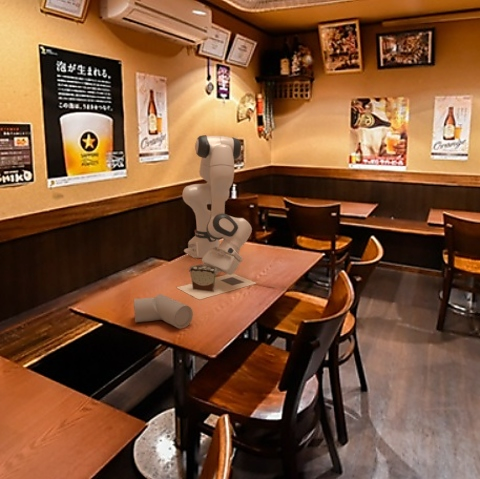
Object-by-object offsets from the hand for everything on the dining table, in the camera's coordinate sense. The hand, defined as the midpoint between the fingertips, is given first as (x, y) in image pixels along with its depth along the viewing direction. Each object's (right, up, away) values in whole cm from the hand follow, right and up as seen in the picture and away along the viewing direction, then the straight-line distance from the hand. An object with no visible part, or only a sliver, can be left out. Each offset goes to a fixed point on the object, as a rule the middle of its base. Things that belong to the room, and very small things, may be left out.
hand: (209, 276), depth 198 cm
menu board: (+3, -4, +4) cm, 6 cm away
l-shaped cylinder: (-14, -14, -33) cm, 39 cm away
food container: (-2, -5, 0) cm, 5 cm away
